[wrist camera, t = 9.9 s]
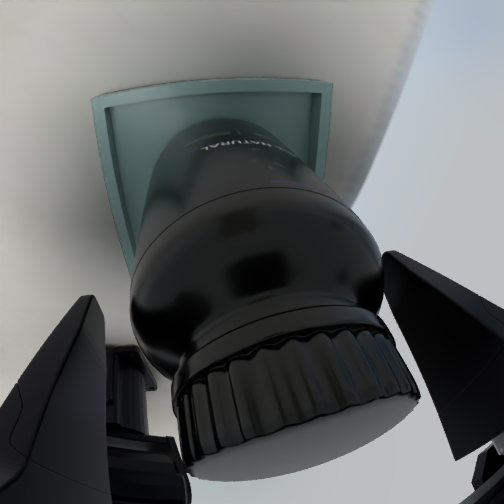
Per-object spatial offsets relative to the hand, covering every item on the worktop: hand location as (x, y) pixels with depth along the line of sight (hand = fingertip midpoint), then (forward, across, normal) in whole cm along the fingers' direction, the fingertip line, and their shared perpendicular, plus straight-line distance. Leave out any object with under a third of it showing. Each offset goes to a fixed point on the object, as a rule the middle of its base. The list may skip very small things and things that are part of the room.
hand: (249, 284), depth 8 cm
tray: (+8, 0, 0) cm, 8 cm away
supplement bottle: (+7, 0, 0) cm, 7 cm away
